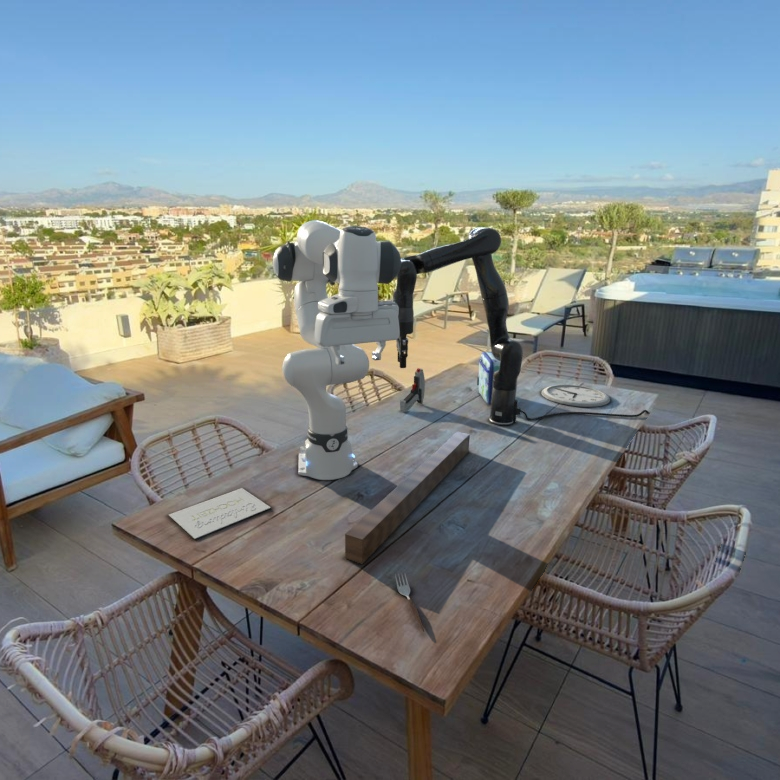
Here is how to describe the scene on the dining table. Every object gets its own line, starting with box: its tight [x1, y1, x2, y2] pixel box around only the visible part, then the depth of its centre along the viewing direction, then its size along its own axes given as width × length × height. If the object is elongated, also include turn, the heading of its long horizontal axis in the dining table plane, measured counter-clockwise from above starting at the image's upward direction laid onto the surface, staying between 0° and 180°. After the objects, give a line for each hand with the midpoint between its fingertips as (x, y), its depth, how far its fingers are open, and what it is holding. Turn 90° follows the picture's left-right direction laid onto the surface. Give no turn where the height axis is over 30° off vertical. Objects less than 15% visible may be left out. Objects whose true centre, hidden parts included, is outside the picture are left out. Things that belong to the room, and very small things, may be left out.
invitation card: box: [168, 487, 271, 540], centre depth 138 cm, size 21×1×15 cm
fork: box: [394, 572, 425, 632], centre depth 105 cm, size 3×16×2 cm, turn 15°
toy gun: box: [399, 367, 426, 413], centre depth 218 cm, size 2×16×15 cm
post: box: [344, 431, 471, 565], centre depth 148 cm, size 72×5×6 cm, turn 152°
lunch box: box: [476, 351, 500, 406], centre depth 230 cm, size 26×11×21 cm, turn 179°
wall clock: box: [541, 384, 611, 408], centre depth 239 cm, size 30×2×30 cm
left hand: (358, 361), depth 122 cm, fingers open, 8 cm apart
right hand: (401, 364), depth 185 cm, fingers open, 8 cm apart
